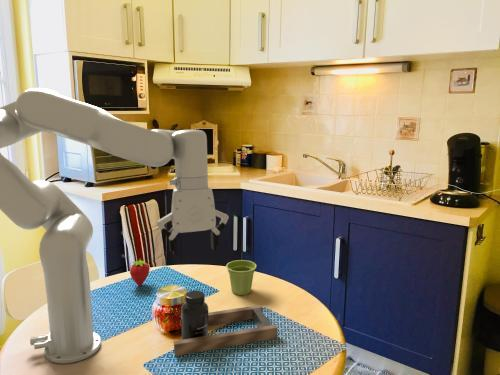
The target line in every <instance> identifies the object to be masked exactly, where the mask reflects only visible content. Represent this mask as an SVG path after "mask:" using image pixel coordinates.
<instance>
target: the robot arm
mask: <svg viewBox="0 0 500 375" xmlns="http://www.w3.org/2000/svg"><path fill="white" fill-rule="evenodd" d="M42 132H44V133H45V132H46V133H48V134H51V135H55V136H59V137H61V138H65V139H68V140H72V141H74V142H78V143H80V144H84V145H87V146H90V147H92V148H94V149H97V150H100V151H101V152H102V151H103V152H105V153H108V154H110V155H113V156H115V157H118V158H120V159H124V160H127V161H131V162H133V163H137V164H141V165H144V166H148V167H153V168H154V167H155V168H158V167H163V166H165V165H167V164H168V163H169V162H170V161H171V160H172V159H173V160H174V171H175V172H174V173H175V174H174V178H172V179H171V178H170V179H169V182H168V183H169V186H174V188H173V190H172V198H171V212H170V213H168V214H167V215H165V216H162V218H160V219H159V220H157V221H156V227H158V228H159V230H160V232H161V233H162V235H164V236H165V237H166V238H167V239H168V242H169V243H168V244H169V252H170V253H171V252H172V254H173V256H174V257H176V256H177V255H178V244H177V239H176V237H177V235H178V234H179V233H180V234H181V233H182V234H183V233H184V234H185V233H193V232H202V231H210V230H211V232H210V248H211V250H212V252H213V251H214V252H216V251H217V247H219V235H221V232H222V231H223V230H224V228H225V227H226V224H227V223H228V220H229V218H230V217H229V215H228V214H227V213H224V212H222V211H219V210H218V209H216V207H215V206H216V205H215V199H214V197H215V196H214V193H213V188H212V187H211V186H209V171H208V167H209V166H208V139H207V138H208V137H207V134H206V132H205V131H204V130H202V129H201V130H200V129H181V130H173V129H171V130H169V129H162V128H161V129H160V128H154V129H149V128H145V127H142V126H139V125H136V124H133V123H130V122H128V121H125V120H122V119H120V118H117V117H115V116H113V115H112V114H111V113H109V112H107V110H105V109H102V108H100V107H98V106H95V105H92V104H89V103H86V102H82V101H79V100H76V99H73V98H70V97H67V96H64V95H61V94H60V93H58V92H57V91H55V90H52V89H49V88H41V87H33V88H28V89H25V90H24V91H22V92H21V93H20V94H19V96H17V98H16V100H15V101H13V102H11V103H8V104H6V105H3V106H1V107H0V149H2V148H6V147H9V146H12V145H14V144H16V143H19V142H21V141H22V140H25V139H27V138H29V137H32V136H35V135H37V134H40V133H42ZM0 211H1V212H2V213H3V214H4V215H5V216H7V218H8V219H9V220H10V221H12V222H13V223H14V224H15V225H16V226H18V228H21V229H24V230H28V231H29V230H36V229H38V228H40V227H42V228H43V229H44V230H45V232H44V233H43V236H42V238H41V240H40V242H39V246H38V247H39V248H38V249H39V250H38V251H39V259H40V262H41V267H42V270H43V277H44V286H45V294H46V304H47V315H48V323H49V326H48V328H49V332H48V333H45V335H35V336H31V337H29V338H30V339H29V344H30V346H34V347H33V348H34V350H40V349H43V348H44V357H45V358H46V359H47V361H49V362H52V363H56V364H71V363H76V362H77V363H78V362H80V361H83V360H86V359H88V358H90V357H91V356H92V355H94V354H95V353H97V351H98V350H99V349H100V347H101V344H102V342H101V340H102V339H101V335H99V334H98V333H96V332H95V331H94V324H93V322H94V320H93V309H92V296H91V295H92V292H91V283H90V282H91V280H90V271H89V265H88V259H87V249H88V247H89V244H90V242H91V240H92V239H93V235H94V229H93V228H94V227H93V224H92V222H91V220H90V219H89V217H87V215H86V214H85V213H84V212H83V211H82V210H81V209H80V208H79V207H78V206H77V204H76V203H75V202H73V200H72V199H70V198H69V197H68V195H67V194H66V193H65V192H64V191H63V190H62V189H60V187H58V186H57V185H55V184H54V183H52V182H50V181H48V180H42V179H36V180H31V179H30V178H29V177H28V176H26V175H25V173H24V172H22V170H21V169H20V168H19V167H18V166H17V165H15V164H14V163H13V162H12V161H11V160H10V159H8V158H6V157H5V156H4V155H3V154H2V153H1V152H0ZM217 217H218V218H220V220H219V223H218V224H217V219H216V218H217ZM170 221H171V226H172V227H171V228H170V229H168V228H166V227H165V225H166V224H167V223H169V222H170ZM216 224H217V225H216Z"/></svg>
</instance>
